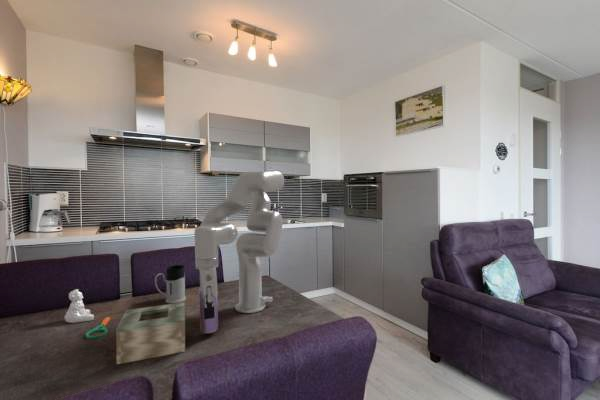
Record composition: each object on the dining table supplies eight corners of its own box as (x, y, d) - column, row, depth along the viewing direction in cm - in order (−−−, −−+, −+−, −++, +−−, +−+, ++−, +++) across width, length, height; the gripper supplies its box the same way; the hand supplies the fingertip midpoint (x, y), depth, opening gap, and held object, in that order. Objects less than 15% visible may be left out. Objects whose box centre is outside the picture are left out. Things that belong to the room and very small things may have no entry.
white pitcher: (190, 298, 135) (189, 266, 135) (161, 308, 123) (160, 273, 123) (178, 295, 139) (178, 264, 139) (149, 304, 127) (149, 270, 127)
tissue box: (184, 330, 103) (184, 302, 103) (185, 351, 89) (184, 319, 89) (126, 340, 96) (126, 309, 96) (116, 364, 82) (116, 329, 82)
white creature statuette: (95, 320, 112) (94, 289, 112) (66, 327, 105) (66, 294, 105) (89, 313, 118) (88, 284, 118) (62, 320, 112) (61, 289, 112)
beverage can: (213, 334, 96) (211, 290, 96) (196, 333, 98) (195, 289, 97) (221, 326, 102) (219, 284, 102) (205, 325, 103) (204, 283, 103)
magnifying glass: (103, 338, 98) (103, 333, 98) (82, 341, 96) (82, 336, 96) (116, 320, 112) (116, 316, 112) (98, 322, 110) (98, 318, 110)
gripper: (221, 267, 92) (223, 323, 93) (215, 255, 108) (217, 303, 109) (196, 270, 89) (198, 327, 90) (194, 257, 105) (196, 306, 106)
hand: (208, 314), depth 100 cm, fingers closed on beverage can, 5 cm apart
